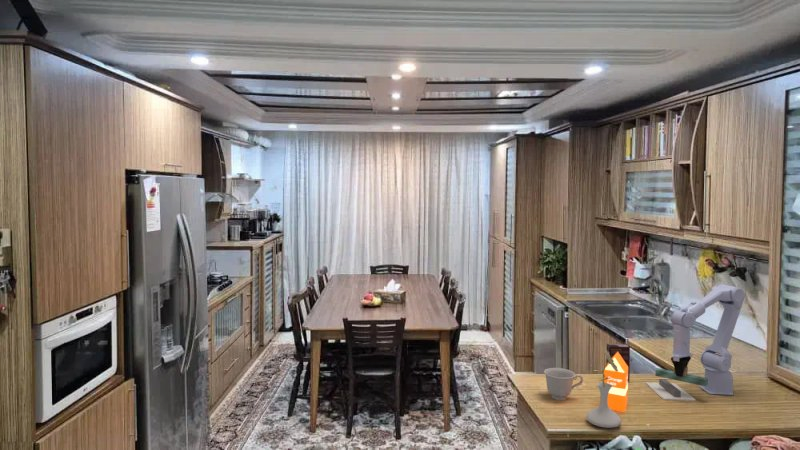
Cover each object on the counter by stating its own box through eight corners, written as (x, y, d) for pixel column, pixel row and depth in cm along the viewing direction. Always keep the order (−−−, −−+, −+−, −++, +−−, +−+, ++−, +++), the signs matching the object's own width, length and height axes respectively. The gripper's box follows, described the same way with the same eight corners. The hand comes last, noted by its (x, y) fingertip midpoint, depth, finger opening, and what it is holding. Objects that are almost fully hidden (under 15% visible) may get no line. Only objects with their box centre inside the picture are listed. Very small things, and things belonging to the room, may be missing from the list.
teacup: (585, 405, 191) (585, 379, 191) (544, 402, 194) (545, 376, 194) (580, 393, 203) (580, 369, 203) (542, 390, 206) (542, 366, 206)
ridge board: (674, 384, 214) (675, 377, 214) (695, 401, 196) (696, 393, 196) (645, 383, 215) (645, 376, 215) (663, 399, 197) (663, 392, 197)
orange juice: (627, 404, 193) (629, 352, 192) (624, 412, 185) (626, 358, 184) (605, 399, 197) (607, 349, 196) (602, 407, 189) (603, 355, 188)
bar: (655, 375, 206) (655, 362, 206) (657, 374, 209) (657, 360, 208) (705, 386, 194) (705, 372, 194) (707, 384, 196) (707, 370, 196)
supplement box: (625, 379, 220) (626, 343, 219) (629, 383, 215) (630, 346, 215) (605, 378, 221) (606, 343, 220) (608, 382, 216) (609, 346, 215)
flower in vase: (619, 434, 168) (621, 360, 166) (583, 426, 173) (585, 354, 172) (623, 419, 179) (625, 350, 178) (589, 412, 184) (591, 345, 183)
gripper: (687, 347, 193) (686, 382, 193) (697, 339, 203) (696, 373, 204) (667, 343, 198) (666, 377, 198) (678, 336, 208) (677, 369, 209)
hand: (680, 375), depth 201 cm, fingers closed on bar, 3 cm apart
